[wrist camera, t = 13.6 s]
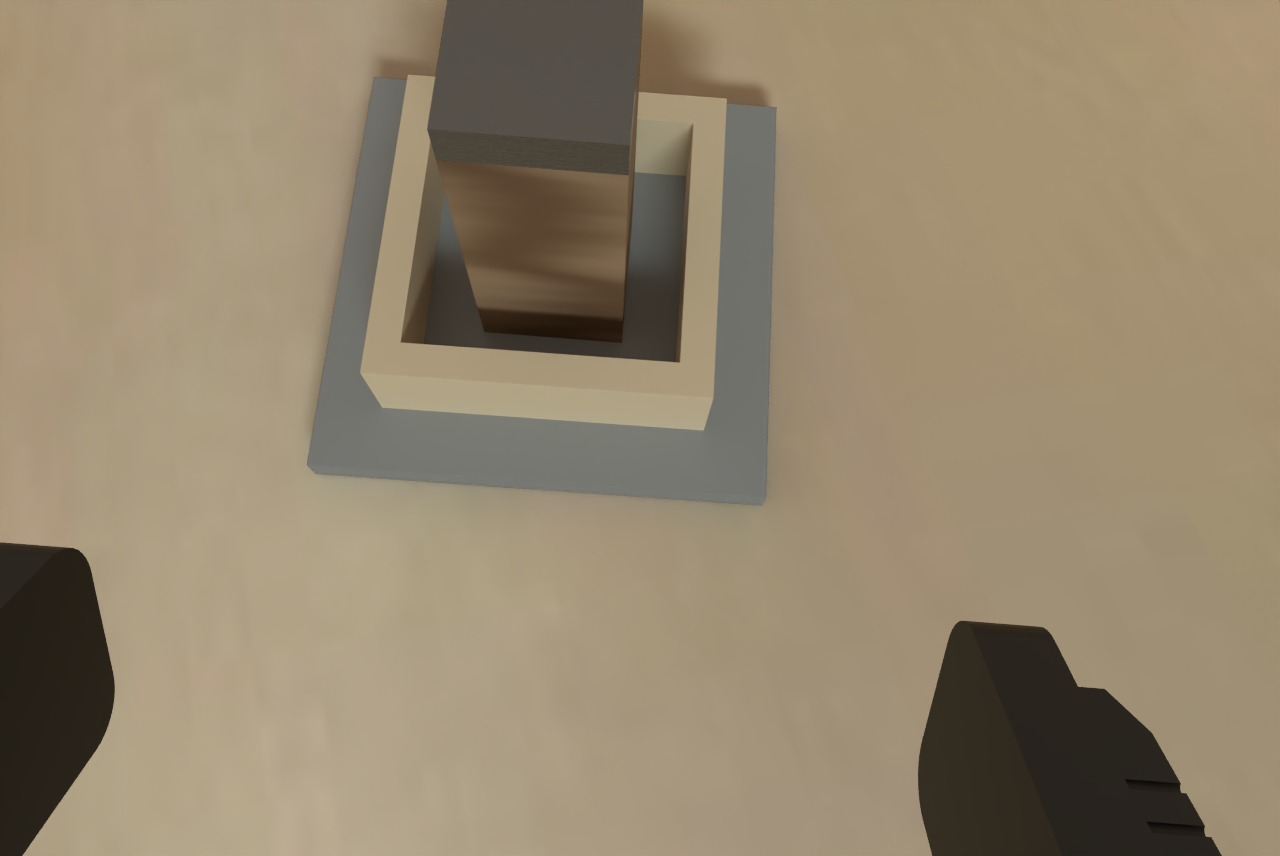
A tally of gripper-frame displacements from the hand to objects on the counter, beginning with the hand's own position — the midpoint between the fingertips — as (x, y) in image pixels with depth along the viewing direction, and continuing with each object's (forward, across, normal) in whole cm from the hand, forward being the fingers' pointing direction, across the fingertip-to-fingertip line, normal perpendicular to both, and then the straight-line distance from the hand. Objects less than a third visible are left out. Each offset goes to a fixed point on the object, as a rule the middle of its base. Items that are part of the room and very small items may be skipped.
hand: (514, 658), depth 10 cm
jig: (+25, +2, +5) cm, 26 cm away
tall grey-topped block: (+24, +2, +4) cm, 25 cm away
